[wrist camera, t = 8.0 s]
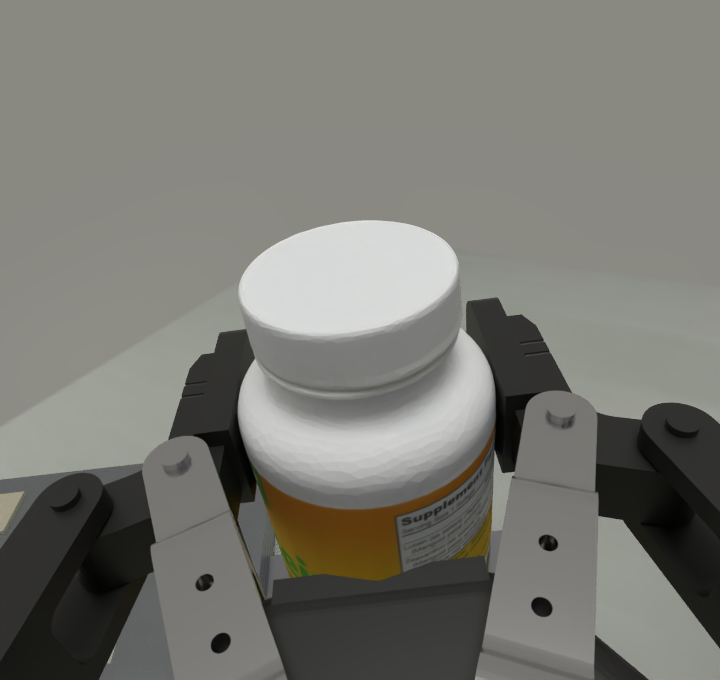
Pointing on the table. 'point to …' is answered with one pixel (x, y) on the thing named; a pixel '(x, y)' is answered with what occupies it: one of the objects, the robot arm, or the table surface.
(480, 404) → the supplement bottle
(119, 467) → the socket block
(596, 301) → the table surface
